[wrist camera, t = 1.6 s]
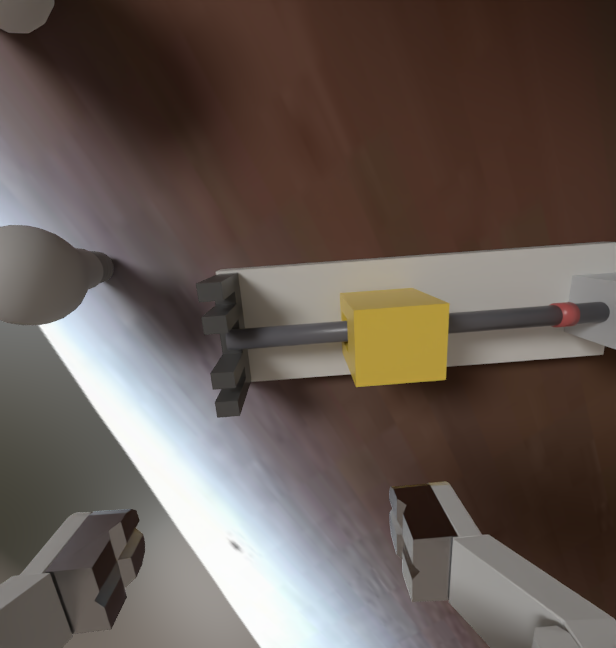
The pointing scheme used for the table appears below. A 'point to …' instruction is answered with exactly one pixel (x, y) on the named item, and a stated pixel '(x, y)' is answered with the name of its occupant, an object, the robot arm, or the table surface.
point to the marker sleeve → (395, 336)
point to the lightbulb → (44, 275)
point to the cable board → (426, 276)
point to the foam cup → (24, 14)
